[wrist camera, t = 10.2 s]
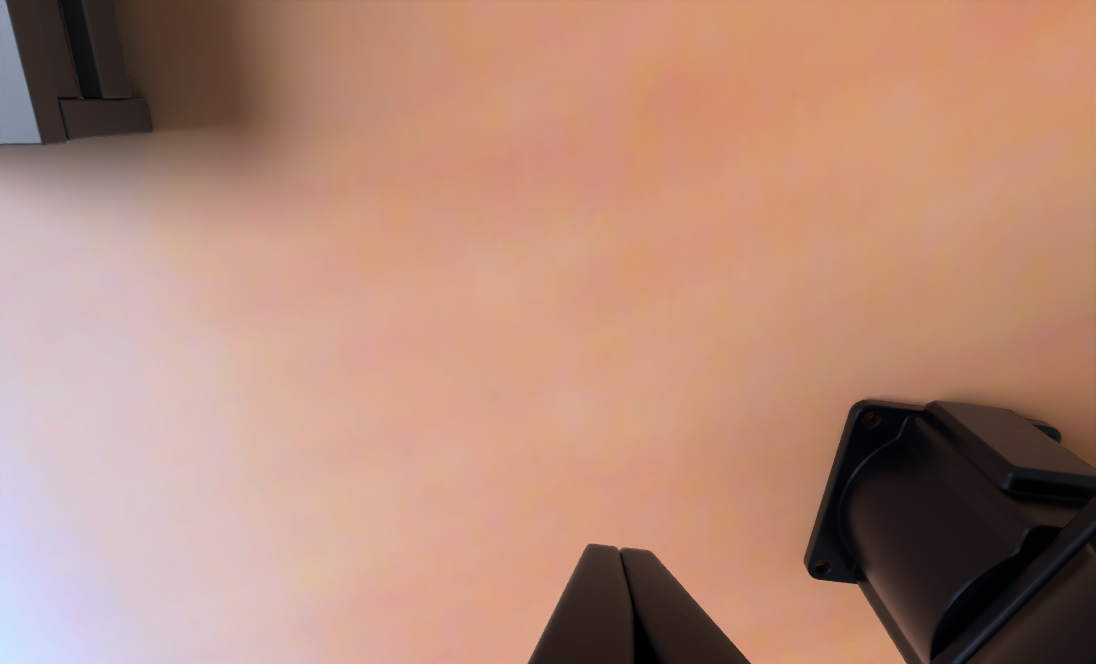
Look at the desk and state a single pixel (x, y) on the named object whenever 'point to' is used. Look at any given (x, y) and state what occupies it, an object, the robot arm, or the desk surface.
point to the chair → (64, 74)
